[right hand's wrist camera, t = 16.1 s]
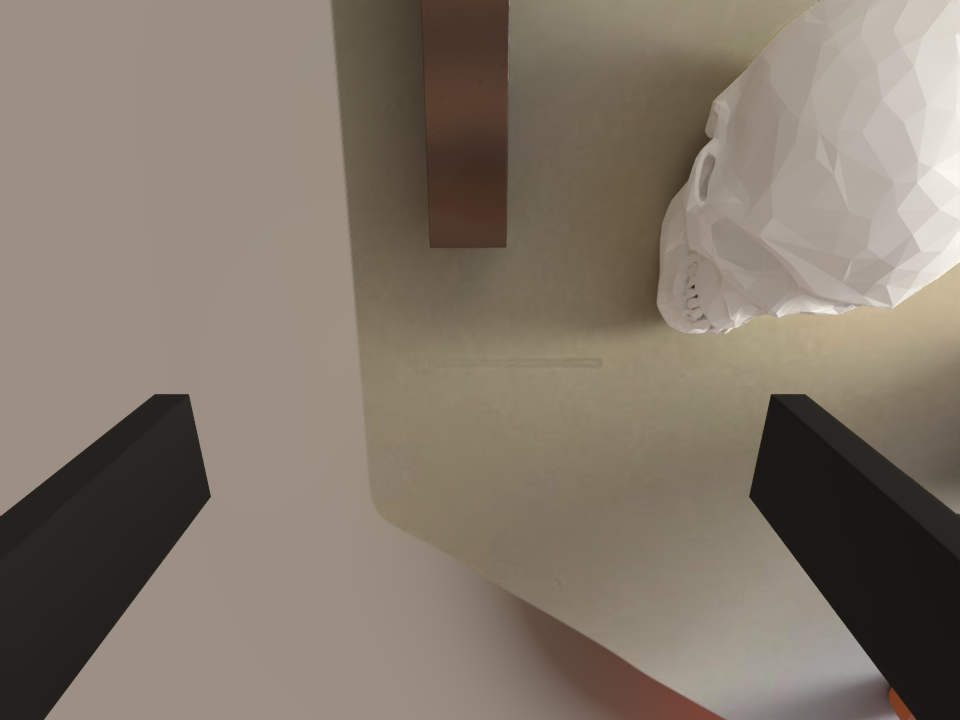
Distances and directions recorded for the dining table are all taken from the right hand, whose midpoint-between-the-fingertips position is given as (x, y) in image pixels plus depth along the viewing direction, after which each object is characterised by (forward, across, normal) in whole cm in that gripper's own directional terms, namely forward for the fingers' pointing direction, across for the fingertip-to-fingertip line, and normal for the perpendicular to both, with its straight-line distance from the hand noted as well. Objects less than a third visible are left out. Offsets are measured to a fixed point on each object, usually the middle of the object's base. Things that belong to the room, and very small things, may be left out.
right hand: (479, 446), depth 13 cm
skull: (+29, +19, +4) cm, 35 cm away
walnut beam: (+29, -1, +12) cm, 31 cm away
